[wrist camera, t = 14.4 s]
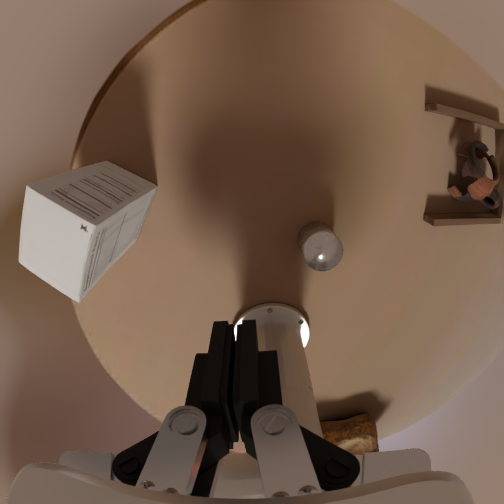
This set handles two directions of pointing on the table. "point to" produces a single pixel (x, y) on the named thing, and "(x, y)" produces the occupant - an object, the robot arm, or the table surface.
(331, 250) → the grey tin
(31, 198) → the supplement box
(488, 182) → the pottery mug
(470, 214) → the display frame
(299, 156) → the table surface
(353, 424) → the rough brown rock
